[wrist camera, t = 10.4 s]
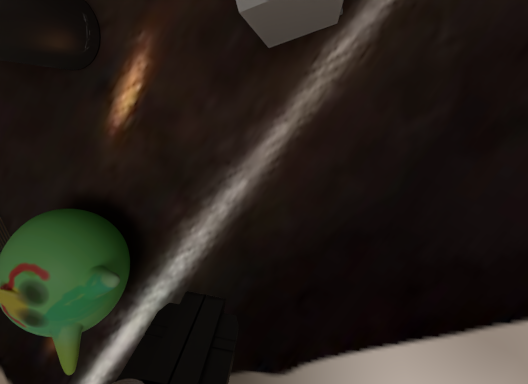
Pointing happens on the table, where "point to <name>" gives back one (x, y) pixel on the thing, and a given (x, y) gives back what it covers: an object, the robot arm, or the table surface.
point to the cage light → (3, 235)
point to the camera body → (288, 17)
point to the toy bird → (63, 276)
